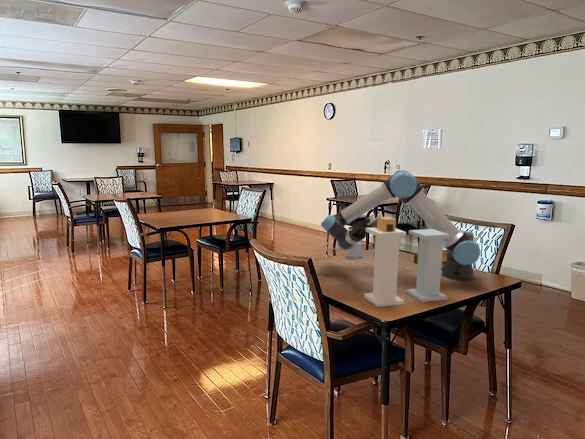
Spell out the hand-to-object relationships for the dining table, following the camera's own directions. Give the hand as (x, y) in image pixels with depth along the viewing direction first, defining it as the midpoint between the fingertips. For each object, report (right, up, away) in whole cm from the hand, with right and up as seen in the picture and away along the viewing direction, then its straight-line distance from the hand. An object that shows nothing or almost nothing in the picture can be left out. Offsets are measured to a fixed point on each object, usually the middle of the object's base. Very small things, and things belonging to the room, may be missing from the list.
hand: (377, 217), depth 183 cm
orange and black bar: (0, -4, -1) cm, 4 cm away
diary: (+46, -26, +57) cm, 78 cm away
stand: (+2, -35, -1) cm, 35 cm away
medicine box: (0, -23, +67) cm, 71 cm away
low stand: (+22, -34, +6) cm, 41 cm away
